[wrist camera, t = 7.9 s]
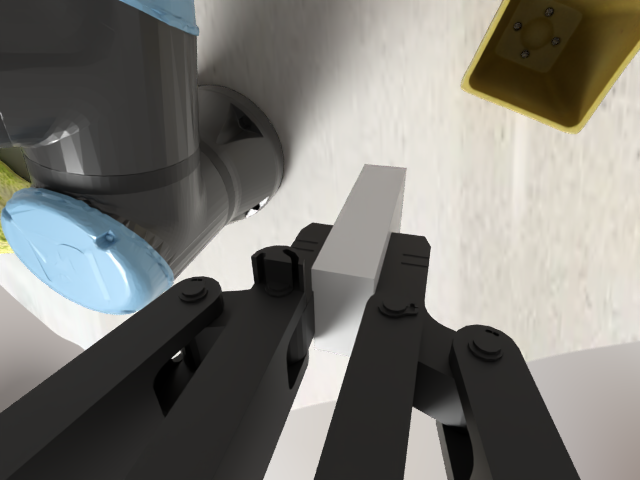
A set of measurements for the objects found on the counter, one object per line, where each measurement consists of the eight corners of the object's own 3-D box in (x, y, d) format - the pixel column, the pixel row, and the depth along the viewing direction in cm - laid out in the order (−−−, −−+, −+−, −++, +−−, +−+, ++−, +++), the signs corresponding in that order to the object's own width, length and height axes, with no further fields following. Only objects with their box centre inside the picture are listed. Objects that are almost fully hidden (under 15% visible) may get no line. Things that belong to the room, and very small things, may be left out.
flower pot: (517, -53, 31) (533, -60, 23) (629, -10, 30) (681, -4, 23) (458, 65, 36) (457, 89, 29) (553, 103, 35) (576, 138, 28)
